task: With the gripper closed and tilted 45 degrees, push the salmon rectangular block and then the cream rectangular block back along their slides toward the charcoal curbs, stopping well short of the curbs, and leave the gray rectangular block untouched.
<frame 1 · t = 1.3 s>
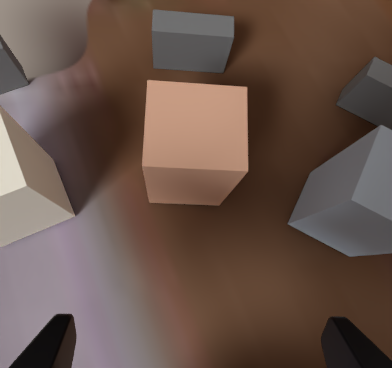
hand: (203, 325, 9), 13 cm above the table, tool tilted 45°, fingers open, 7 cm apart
salmon rectangular block: (190, 154, 19), point 4 cm above the table, slide at 0.0 cm
gray rectangular block: (362, 201, 19), point 4 cm above the table, slide at 0.0 cm
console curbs: (185, 174, 23), on the table
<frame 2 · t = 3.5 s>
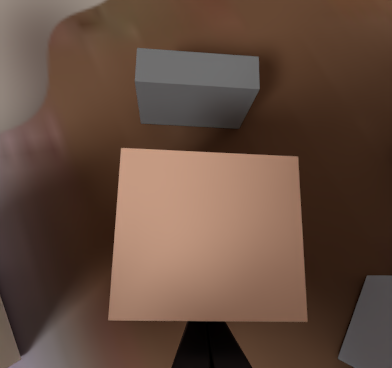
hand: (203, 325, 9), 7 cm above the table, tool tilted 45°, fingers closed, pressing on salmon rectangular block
salmon rectangular block: (195, 245, 12), point 4 cm above the table, slide at 1.4 cm, touching gripper
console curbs: (186, 284, 16), on the table
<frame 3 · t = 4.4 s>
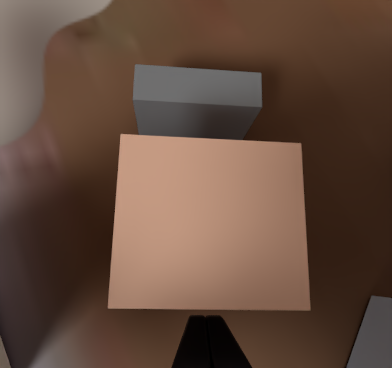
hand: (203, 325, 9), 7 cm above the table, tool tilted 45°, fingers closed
salmon rectangular block: (196, 235, 12), point 4 cm above the table, slide at 2.7 cm
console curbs: (186, 305, 15), on the table
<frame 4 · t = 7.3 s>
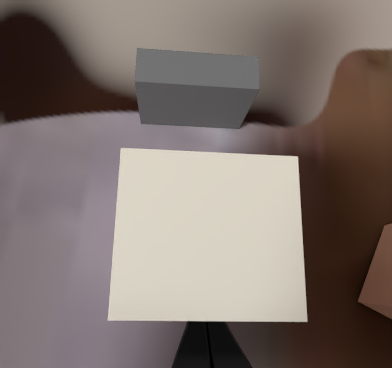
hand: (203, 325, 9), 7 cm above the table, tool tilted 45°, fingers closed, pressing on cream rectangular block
cream rectangular block: (195, 245, 12), point 4 cm above the table, slide at 1.5 cm, touching gripper
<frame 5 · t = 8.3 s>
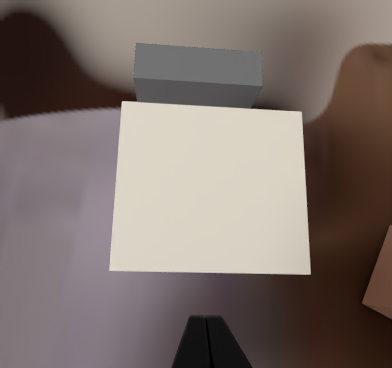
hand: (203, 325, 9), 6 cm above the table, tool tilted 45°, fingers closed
cream rectangular block: (197, 211, 12), point 4 cm above the table, slide at 2.7 cm
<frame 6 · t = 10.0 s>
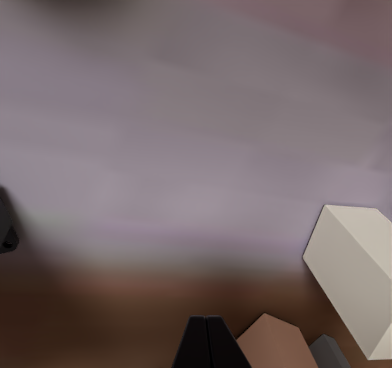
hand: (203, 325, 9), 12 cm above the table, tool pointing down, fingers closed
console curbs: (239, 326, 28), on the table
cream rectangular block: (372, 274, 21), point 4 cm above the table, slide at 2.7 cm
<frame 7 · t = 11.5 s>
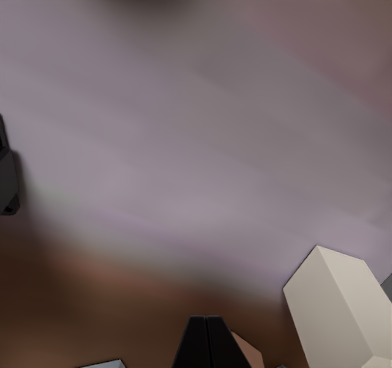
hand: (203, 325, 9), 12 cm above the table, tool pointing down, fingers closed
cream rectangular block: (345, 322, 22), point 4 cm above the table, slide at 2.7 cm
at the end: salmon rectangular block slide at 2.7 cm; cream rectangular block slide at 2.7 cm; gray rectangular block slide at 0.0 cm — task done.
